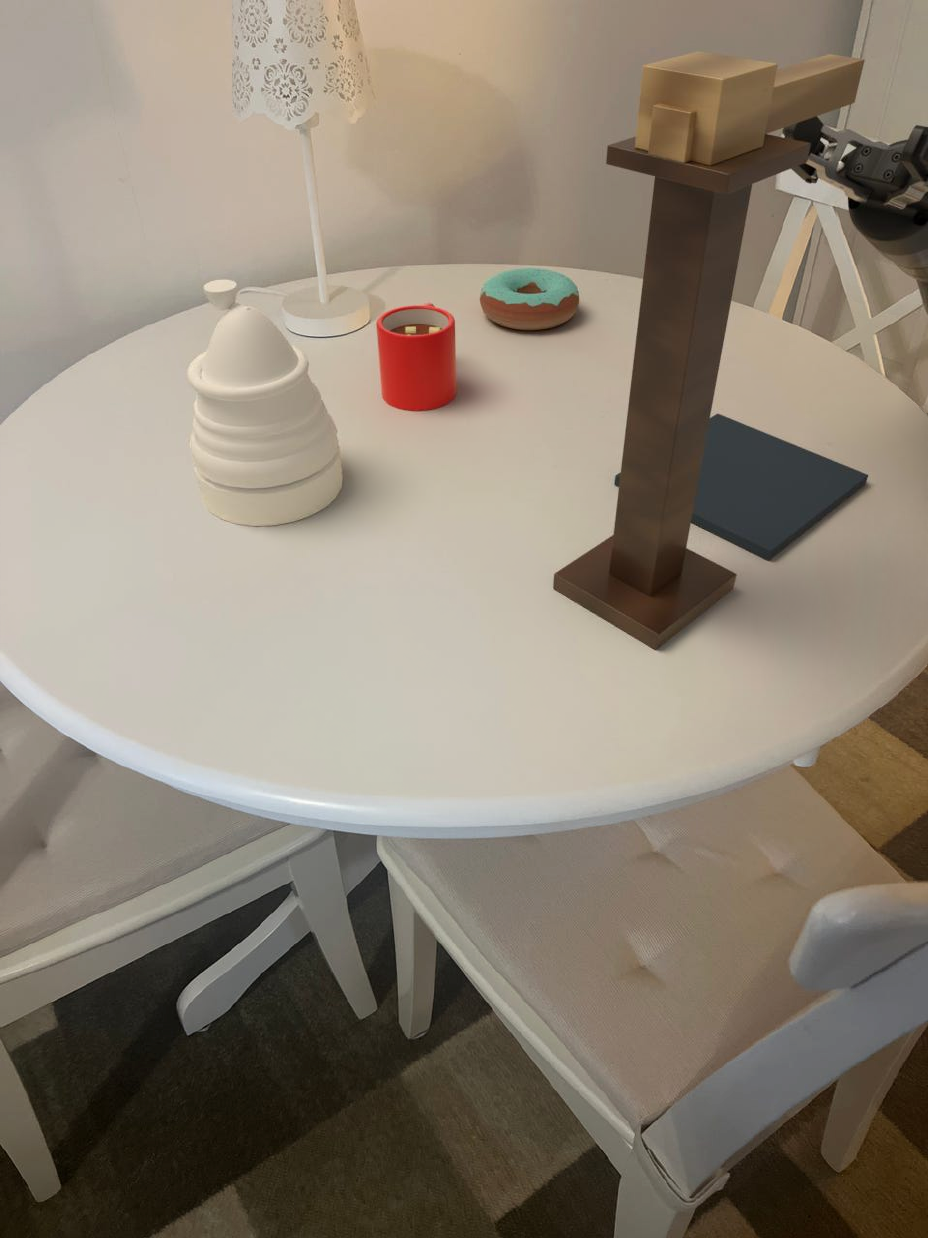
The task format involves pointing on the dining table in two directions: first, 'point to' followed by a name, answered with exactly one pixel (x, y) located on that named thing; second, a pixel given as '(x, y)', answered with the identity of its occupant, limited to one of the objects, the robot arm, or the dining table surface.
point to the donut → (529, 299)
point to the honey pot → (259, 422)
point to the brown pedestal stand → (673, 392)
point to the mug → (417, 357)
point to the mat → (764, 487)
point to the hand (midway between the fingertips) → (851, 129)
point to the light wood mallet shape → (734, 102)
